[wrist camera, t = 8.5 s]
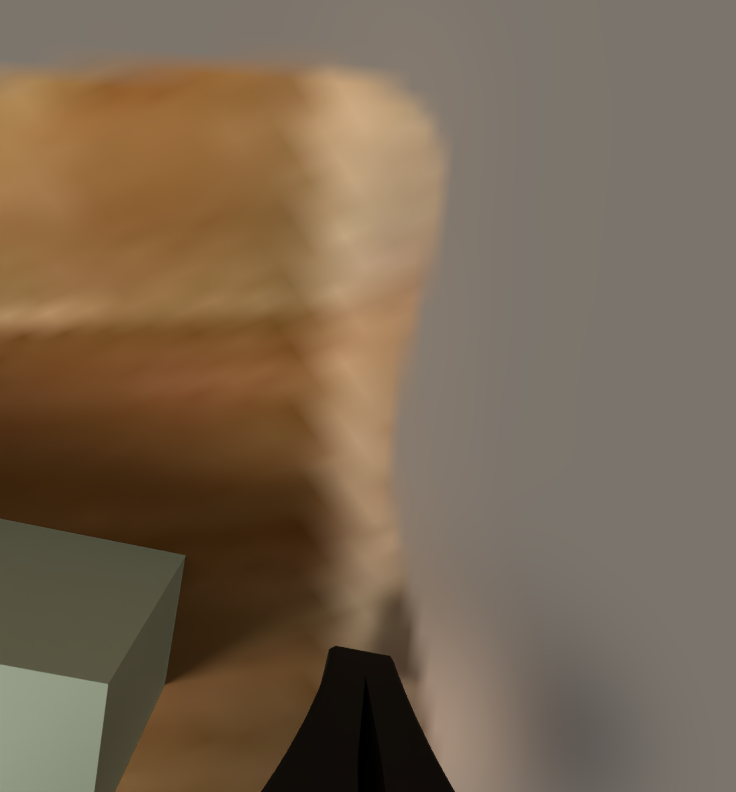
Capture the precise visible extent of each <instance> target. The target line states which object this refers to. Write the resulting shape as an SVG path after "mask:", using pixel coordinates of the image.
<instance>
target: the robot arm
mask: <svg viewBox="0 0 736 792" xmlns="http://www.w3.org/2000/svg"><path fill="white" fill-rule="evenodd" d="M261 792H455V791H454V789H453V788H452V786H451V784H450V782H449V781H448V779H447V777H446V776H445V773H444V772H443V770H442V768H441V766H440V764H439V763H438V761H437V759H436V757H435V755H434V753H433V751H432V749H431V747H430V745H429V743H428V741H427V739H426V737H425V735H424V733H423V731H422V729H421V727H420V724H419V722H418V720H417V718H416V716H415V714H414V711H413V709H412V707H411V705H410V702H409V700H408V698H407V695H406V693H405V690H404V688H403V685H402V683H401V680H400V678H399V675H398V672H397V670H396V667H395V664H394V662H393V660H392V658H391V657H390V656H386V655H381V654H376V653H371V652H365V651H360V650H355V649H349V648H344V647H339V646H334V647H333V648H331V649H329V652H328V657H327V661H326V665H325V669H324V673H323V677H322V682H321V685H320V687H319V690H318V692H317V695H316V697H315V699H314V701H313V703H312V705H311V708H310V710H309V712H308V714H307V716H306V718H305V720H304V722H303V724H302V726H301V728H300V729H299V731H298V733H297V735H296V737H295V738H294V740H293V742H292V744H291V746H290V747H289V749H288V751H287V753H286V754H285V756H284V757H283V759H282V761H281V762H280V764H279V765H278V767H277V769H276V770H275V772H274V773H273V775H272V776H271V778H270V779H269V781H268V782H267V784H266V785H265V787H264V788H263V790H262V791H261Z"/></svg>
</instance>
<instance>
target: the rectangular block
mask: <svg viewBox="0 0 736 792" xmlns="http://www.w3.org/2000/svg"><path fill="white" fill-rule="evenodd" d="M185 557H186V555H182V554H177V553H172V552H167V551H162V550H157V549H152V548H147V547H141V546H136V545H131V544H126V543H121V542H116V541H111V540H106V539H101V538H96V537H91V536H86V535H81V534H76V533H70V532H65V531H60V530H55V529H50V528H45V527H40V526H35V525H30V524H25V523H20V522H15V521H10V520H5V519H0V792H115V790H116V788H117V786H118V784H119V782H120V780H121V777H122V775H123V773H124V771H125V769H126V767H127V765H128V762H129V760H130V758H131V756H132V754H133V752H134V750H135V748H136V745H137V743H138V741H139V739H140V737H141V735H142V733H143V730H144V728H145V726H146V724H147V722H148V720H149V718H150V716H151V713H152V711H153V709H154V707H155V705H156V703H157V701H158V698H159V696H160V694H161V692H162V690H163V688H164V686H165V681H166V675H167V669H168V663H169V656H170V650H171V644H172V638H173V632H174V625H175V619H176V613H177V607H178V600H179V594H180V588H181V582H182V576H183V569H184V563H185Z"/></svg>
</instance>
